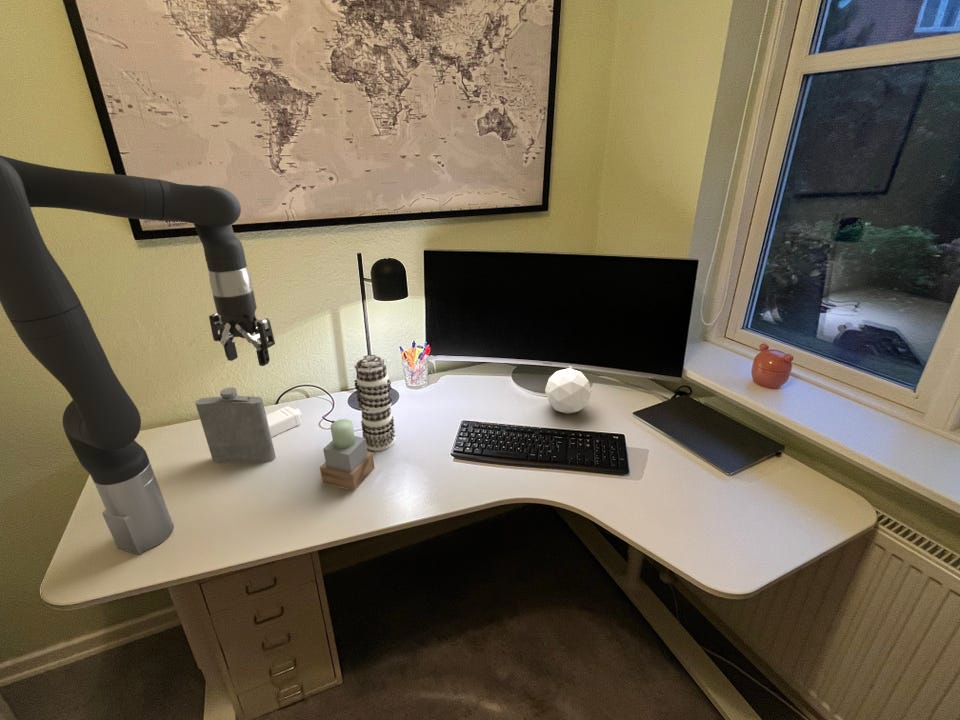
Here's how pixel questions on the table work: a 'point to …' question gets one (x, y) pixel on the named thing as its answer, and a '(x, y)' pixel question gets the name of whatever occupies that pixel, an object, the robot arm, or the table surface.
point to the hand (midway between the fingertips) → (248, 361)
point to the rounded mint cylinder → (342, 434)
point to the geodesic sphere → (568, 390)
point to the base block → (348, 474)
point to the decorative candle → (375, 402)
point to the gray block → (346, 455)
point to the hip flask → (236, 427)
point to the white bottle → (283, 420)
